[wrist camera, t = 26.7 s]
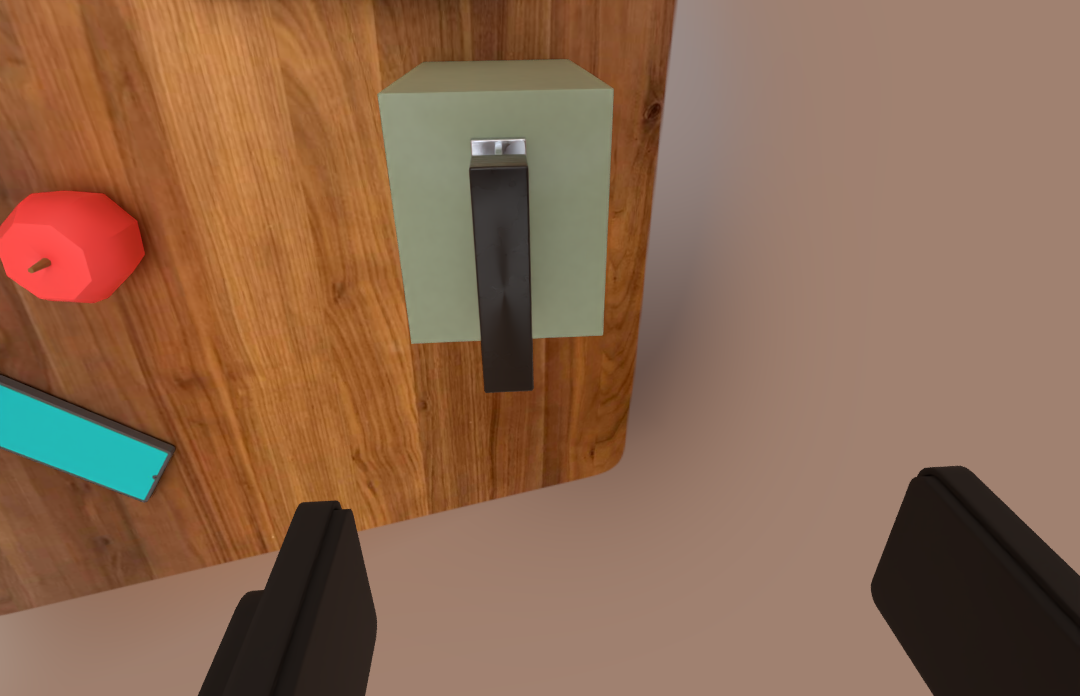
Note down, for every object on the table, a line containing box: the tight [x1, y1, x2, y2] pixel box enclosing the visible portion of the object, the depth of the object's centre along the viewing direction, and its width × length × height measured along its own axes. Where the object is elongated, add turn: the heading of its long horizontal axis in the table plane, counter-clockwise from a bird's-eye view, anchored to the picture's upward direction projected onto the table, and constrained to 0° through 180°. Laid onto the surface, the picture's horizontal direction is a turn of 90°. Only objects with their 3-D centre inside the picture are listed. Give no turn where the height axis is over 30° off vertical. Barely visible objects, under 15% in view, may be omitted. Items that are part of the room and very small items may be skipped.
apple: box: [0, 191, 145, 303], centre depth 41 cm, size 8×8×8 cm
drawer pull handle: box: [469, 137, 534, 393], centre depth 25 cm, size 2×9×7 cm, turn 1°
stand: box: [378, 59, 614, 344], centre depth 36 cm, size 10×12×18 cm
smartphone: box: [0, 375, 175, 502], centre depth 53 cm, size 7×1×15 cm
